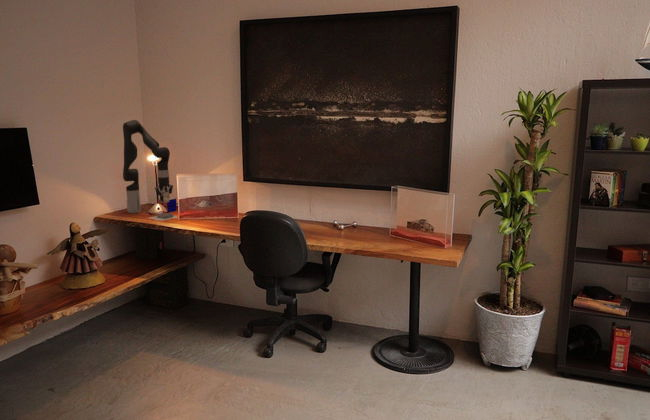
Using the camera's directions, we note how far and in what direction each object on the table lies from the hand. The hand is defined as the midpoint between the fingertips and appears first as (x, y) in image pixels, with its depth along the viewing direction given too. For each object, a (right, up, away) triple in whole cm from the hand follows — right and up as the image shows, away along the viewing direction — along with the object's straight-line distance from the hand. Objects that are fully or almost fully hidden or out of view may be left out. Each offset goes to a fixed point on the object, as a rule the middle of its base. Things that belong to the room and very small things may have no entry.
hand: (164, 200), depth 365 cm
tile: (-8, -10, +16) cm, 21 cm away
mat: (-5, -12, +13) cm, 19 cm away
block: (0, -1, 0) cm, 1 cm away
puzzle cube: (-9, -8, +36) cm, 38 cm away
